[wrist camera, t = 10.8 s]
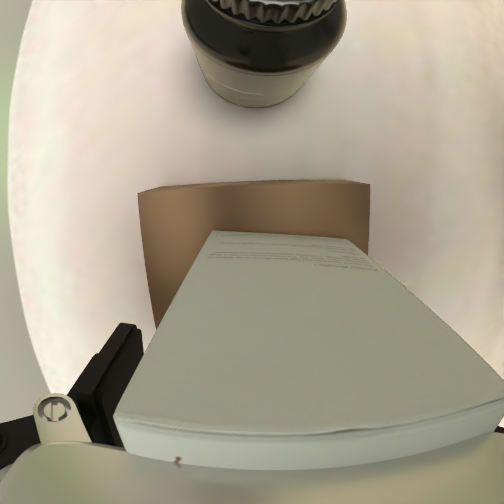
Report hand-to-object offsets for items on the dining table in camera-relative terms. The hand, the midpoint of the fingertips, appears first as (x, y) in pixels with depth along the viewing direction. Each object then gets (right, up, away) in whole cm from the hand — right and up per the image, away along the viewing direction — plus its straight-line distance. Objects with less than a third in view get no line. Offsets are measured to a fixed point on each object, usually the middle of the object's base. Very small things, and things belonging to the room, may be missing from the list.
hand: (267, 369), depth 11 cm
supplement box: (+1, +2, +6) cm, 6 cm away
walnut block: (0, +3, +11) cm, 11 cm away
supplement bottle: (0, +16, +7) cm, 18 cm away
